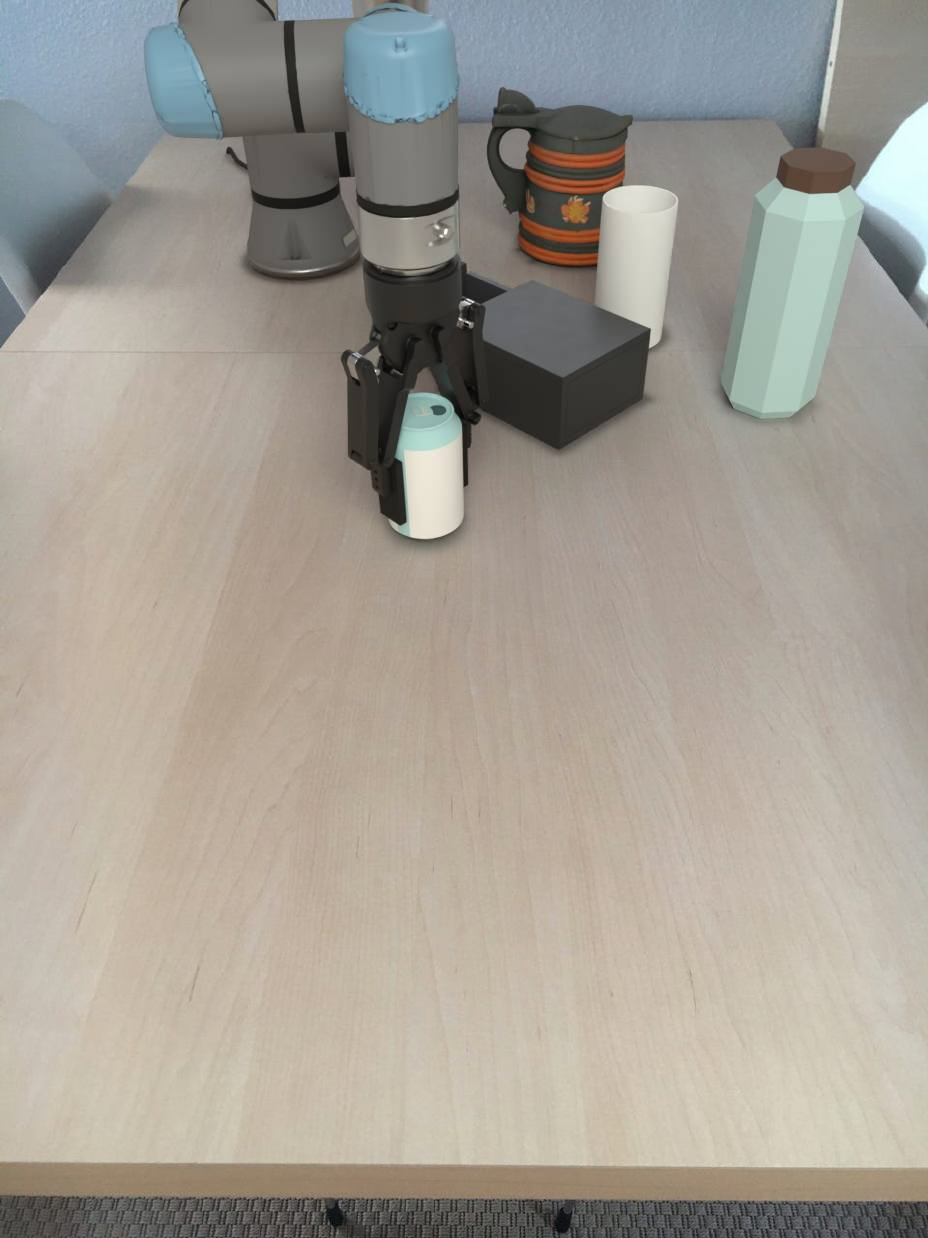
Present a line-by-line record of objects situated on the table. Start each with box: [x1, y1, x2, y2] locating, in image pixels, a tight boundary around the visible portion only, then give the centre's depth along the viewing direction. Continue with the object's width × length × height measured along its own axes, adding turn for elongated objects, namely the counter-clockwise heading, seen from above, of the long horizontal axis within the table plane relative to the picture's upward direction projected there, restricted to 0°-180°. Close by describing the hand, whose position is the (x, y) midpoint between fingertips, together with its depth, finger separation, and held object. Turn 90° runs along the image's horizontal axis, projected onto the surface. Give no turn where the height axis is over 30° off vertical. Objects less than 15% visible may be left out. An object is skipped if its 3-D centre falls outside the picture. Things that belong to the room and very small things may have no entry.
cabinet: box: [451, 279, 651, 451], centre depth 106 cm, size 17×14×8 cm
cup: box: [593, 184, 679, 349], centre depth 113 cm, size 8×8×16 cm
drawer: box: [461, 260, 512, 304], centre depth 114 cm, size 22×13×6 cm, turn 44°
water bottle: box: [720, 147, 865, 420], centre depth 99 cm, size 10×10×25 cm
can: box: [387, 392, 465, 540], centre depth 88 cm, size 7×7×12 cm
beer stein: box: [486, 86, 634, 268], centre depth 130 cm, size 19×15×20 cm
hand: (425, 498), depth 91 cm, fingers closed on can, 7 cm apart
